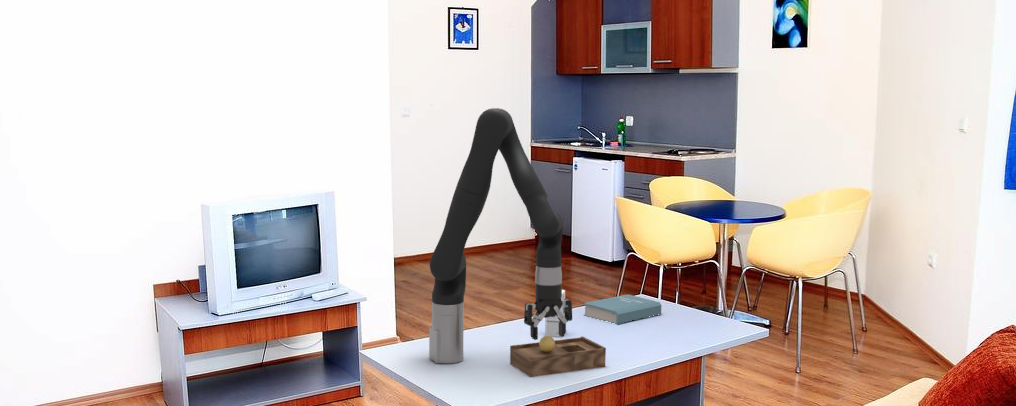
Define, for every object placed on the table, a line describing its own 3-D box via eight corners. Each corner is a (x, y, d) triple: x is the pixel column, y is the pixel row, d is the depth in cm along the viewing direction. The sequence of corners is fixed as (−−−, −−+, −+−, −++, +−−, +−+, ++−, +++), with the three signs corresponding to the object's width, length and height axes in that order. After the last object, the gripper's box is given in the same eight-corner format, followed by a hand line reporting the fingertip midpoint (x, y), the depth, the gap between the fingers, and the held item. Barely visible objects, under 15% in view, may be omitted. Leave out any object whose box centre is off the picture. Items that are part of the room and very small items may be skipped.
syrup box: (562, 337, 286) (563, 293, 284) (544, 336, 287) (545, 292, 285) (565, 332, 291) (566, 289, 289) (547, 331, 292) (548, 288, 291)
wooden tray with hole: (530, 377, 245) (530, 357, 244) (510, 363, 257) (510, 345, 256) (605, 366, 255) (605, 347, 255) (582, 354, 267) (582, 336, 266)
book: (627, 307, 329) (627, 294, 328) (661, 316, 317) (661, 302, 316) (583, 316, 314) (584, 302, 314) (617, 326, 302) (617, 311, 302)
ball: (543, 354, 251) (543, 339, 250) (536, 350, 255) (536, 334, 255) (557, 353, 253) (558, 337, 252) (550, 348, 257) (550, 333, 257)
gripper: (532, 286, 245) (531, 343, 247) (577, 281, 251) (576, 337, 253) (520, 281, 252) (520, 337, 254) (564, 276, 258) (563, 331, 260)
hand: (548, 337), depth 254 cm, fingers open, 8 cm apart
